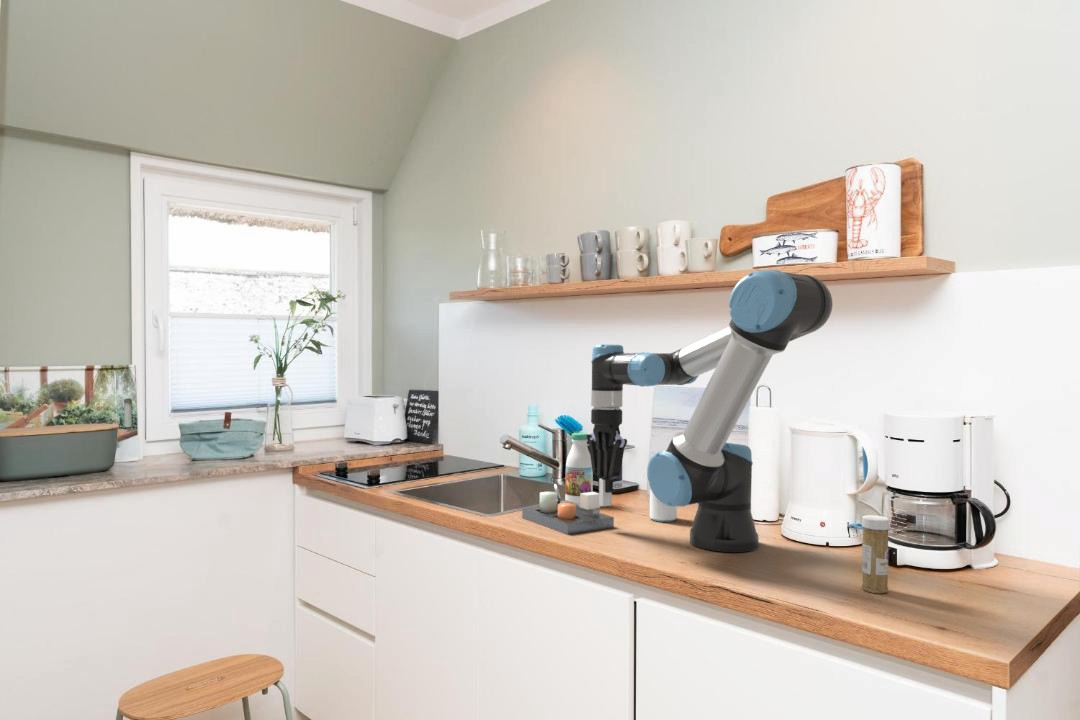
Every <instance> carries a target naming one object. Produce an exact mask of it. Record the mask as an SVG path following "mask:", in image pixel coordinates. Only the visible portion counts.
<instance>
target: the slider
mask: <svg viewBox="0 0 1080 720" xmlns="http://www.w3.org/2000/svg"><path fill="white" fill-rule="evenodd" d="M580 507H581V508H584V509H587V510H588V509H600V508H601V506H600V505H599V492H594V491H593V492H587V493H580Z"/></svg>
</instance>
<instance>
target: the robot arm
mask: <svg viewBox="0 0 1080 720" xmlns="http://www.w3.org/2000/svg"><path fill="white" fill-rule="evenodd" d="M728 307H729V308H730V309H729V316H730V318H731V320H730V321H729V323H728V325H726V326H725V327H723V328H721V329H718V330H717V331H714V332H712V333H710V334H709V335H706V336H704V337H702V338H700V339H698V340H696V341H694V342H692V343H690V344H688V345H685V346H684V347H682V348H679V349H677V350H675V351H673V352H670V353H669V352H667V353H658V352H657V353H654V352H653V353H652V352H624V346H623V345H621V344H602V343H601V344H598V343H597V344H595V345H594V346H593V347H592V356H591V393H590V394H591V395H590V396H591V398H590V399H591V401H590V405H591V407H593V408H592V409H591V410H590V412H591V414H590V422H591V424H592V425H594V426H593V430H592V432H591V433H590V434H588V433H587V434H588V435H587V440H588V441H587V444H588V446H589V447H588V450H589V453H590V456H591V464H592V472H593V475H596V477H597V478H598V480H597V481H598V493H599V505H600V507H609V506H612V500H613V498H612V497H613V495H612V494H613V491H614V479H617V478H619V477H620V475H621V468H622V464H623V458H624V453H625V448H626V446H627V444H628V440H627V438H623V437H622V436H621V431H620V425H622V424H623V409H621V408H622V407H623V389H624V388H623V385H627V386H639V387H654V386H664V385H665V386H667V385H668V386H670V385H673V386H676V385H677V386H684V385H689V384H692V383H694V382H696V380H697V379H698V378H699V376H700V375H702V374H705V373H708V372H710V371H712V370H714V371H713V373H712V375H711V377H710V379H709V381H708V382H707V384H706V387H705V389H704V391H703V393H702V395H701V397H700V398H699V400H698V403H697V405H696V407H695V409H694V411H693V413H692V415H691V417H690V419H689V421H688V423H687V425H686V427H685V429H684V431H680V432H677V433H675V434H674V435H673V436H672V438H671V441H670V443H668V444H669V445H668V447H666V448H667V449H666V450H662V451H659V452H657V453H655V454H654V455H652V456H651V458H650V459H649V461H648V465H647V468H646V469H647V471H646V472H647V473H646V475H647V480H648V483H649V489H650V488H651V490H652V492H653V494H654V495H655V497H656V498H657V499H658V500H659V501H660V502H662V503H663V504H665V505H667V506H677V507H686V506H689V505H695V504H697V510H696V513H695V516H694V519H693V521H692V522H693V523H692V527H691V528H690V530H689V542H690V544H691V545H693V546H695V547H697V548H700V549H704V550H708V551H713V552H720V553H721V552H722V553H745V552H751V551H754V550H757V549H758V548H759V542H760V541H759V540H760V538H759V533H758V532H757V529H756V526H755V521H754V518H753V514H752V476H753V475H752V469H753V468H752V467H753V465H754V464H753V461H752V460H753V457H752V450H751V448H750V447H749V446H748V445H746V444H740V443H730V442H727V441H728V439H729V437H730V436H731V434H732V432H733V430H734V428H735V426H736V425H737V422H738V421H739V419H740V416H741V415H742V413H743V411H744V410H745V408H746V406H747V404H748V402H749V400H750V398H751V397H752V395H753V392H754V390H755V389H756V387H757V385H758V383H759V381H760V379H761V377H762V376H763V373H764V372H765V371H766V368H767V366H768V365H769V363H770V361H771V359H772V358H773V355H776V354H779V353H782V352H784V351H785V350H786V348H787V346H788V345H789V343H790V342H793V341H794V340H797V339H799V338H802V337H804V336H806V335H809V334H812V333H814V332H816V331H818V330H819V329H821V328H822V327H823V326H824V325H825V324H826V323H827V322H828V321H829V318H830V316H831V315H832V314H831V313H832V311H833V297H832V294H831V292H830V289H829V288H828V287H827V285H826V284H825V283H824V282H823V281H822V280H820V279H819V278H817V277H815V276H812V275H809V274H799V273H792V272H785V271H781V270H777V269H765V270H756V271H752V272H750V273H748V274H746V275H745V276H743V277H742V278H741V279H740V280H738V282H737V283H736V285H734V287H733V289H732V290H731V293H730V296H729V301H728Z"/></svg>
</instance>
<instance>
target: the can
mask: <svg viewBox="0 0 1080 720" xmlns="http://www.w3.org/2000/svg"><path fill="white" fill-rule="evenodd" d="M648 508H649V512H648V513H649V516H648V517H649V518H651V519H652V521H655V522H659V523H660V522H661V523H670V522H671V523H672V522H674V520H677V518H678V506H667V505H665V504H663V503H662V502H660V501H659V500H658V499H657V498H656V497H655V495H654V494H653V492H652V490H651V488H650V487H649V507H648Z"/></svg>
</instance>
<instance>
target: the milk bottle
mask: <svg viewBox="0 0 1080 720" xmlns="http://www.w3.org/2000/svg"><path fill="white" fill-rule="evenodd" d="M587 435H588V433H586V432H585V433H584V432H574V433H573V432H572V433H571V443H572V445H571V448H570V450H569V452H568V455H567V458H566V461H565V462H566V463H565V483H564V484H565V488H564V489H565V490H564V491H565V492H564V493H565V496H564V498H565V500H567V501H570V502H574V503H577V504H580V493H587V492H594V491H593V490H594V489H593V487H594V485H593V483H594V482H593V481H594V480H593V479H594V477H593V475H594V474H593V472H592V464H591V456H590V449H589V447H588V440H587ZM565 500H564V501H565Z"/></svg>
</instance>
